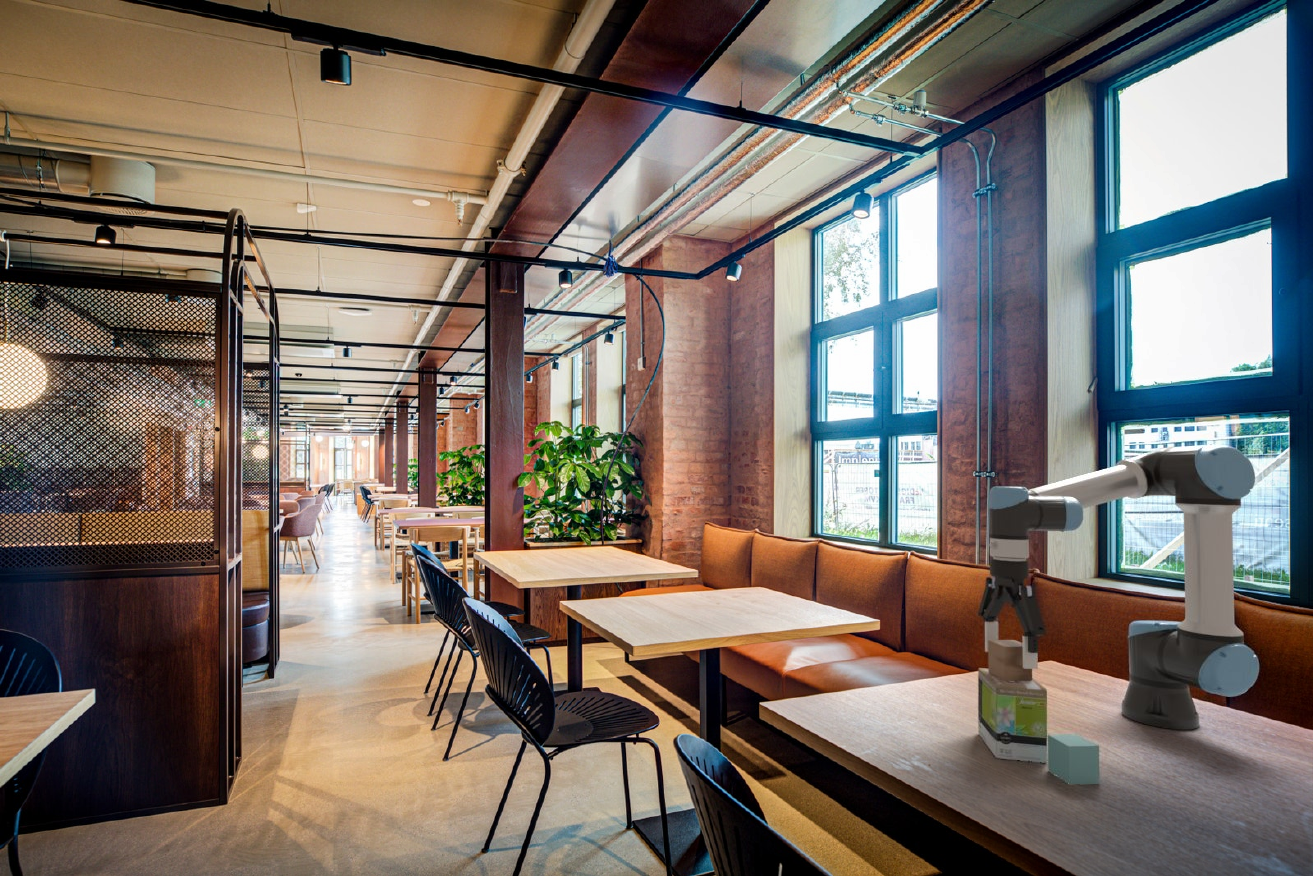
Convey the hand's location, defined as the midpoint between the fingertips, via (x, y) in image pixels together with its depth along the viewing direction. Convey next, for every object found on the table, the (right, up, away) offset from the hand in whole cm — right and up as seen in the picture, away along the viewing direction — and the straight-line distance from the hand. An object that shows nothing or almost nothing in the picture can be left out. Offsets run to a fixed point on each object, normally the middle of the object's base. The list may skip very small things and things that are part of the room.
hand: (1010, 659), depth 150 cm
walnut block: (0, -4, 0) cm, 4 cm away
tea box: (0, -18, -1) cm, 18 cm away
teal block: (+4, -17, -16) cm, 24 cm away
